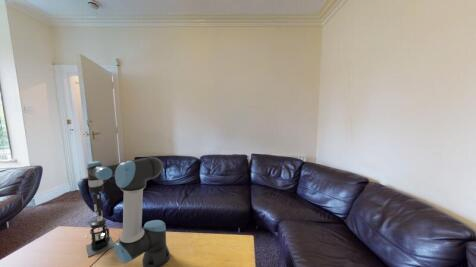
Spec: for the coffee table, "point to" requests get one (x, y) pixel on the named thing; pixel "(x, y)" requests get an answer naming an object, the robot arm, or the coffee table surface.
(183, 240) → the coffee table surface
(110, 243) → the plate
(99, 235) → the black lantern
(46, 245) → the coffee table surface
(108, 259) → the coffee table surface
